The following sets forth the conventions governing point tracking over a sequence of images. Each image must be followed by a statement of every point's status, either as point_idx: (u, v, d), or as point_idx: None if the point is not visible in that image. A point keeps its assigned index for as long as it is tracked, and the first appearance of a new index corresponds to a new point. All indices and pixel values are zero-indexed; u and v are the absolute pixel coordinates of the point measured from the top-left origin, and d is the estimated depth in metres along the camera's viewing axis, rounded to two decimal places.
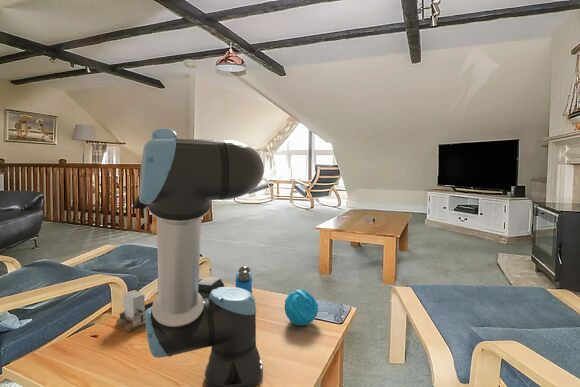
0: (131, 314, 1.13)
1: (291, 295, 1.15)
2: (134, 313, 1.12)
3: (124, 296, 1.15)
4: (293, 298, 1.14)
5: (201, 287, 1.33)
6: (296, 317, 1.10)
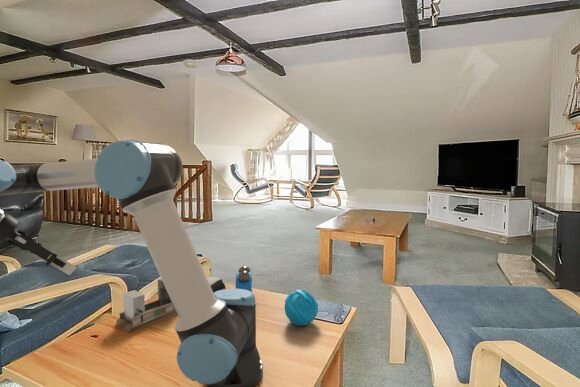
0: (131, 314, 1.13)
1: (291, 295, 1.15)
2: (134, 313, 1.12)
3: (124, 296, 1.15)
4: (293, 298, 1.14)
5: None
6: (296, 317, 1.10)
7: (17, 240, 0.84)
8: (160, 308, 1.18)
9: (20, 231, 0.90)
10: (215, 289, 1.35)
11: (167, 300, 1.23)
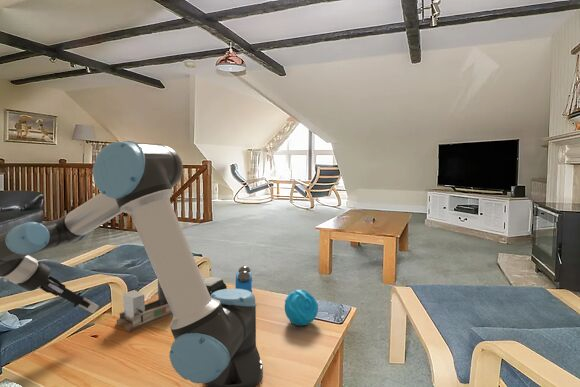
0: (131, 314, 1.13)
1: (291, 295, 1.15)
2: (134, 313, 1.12)
3: (124, 296, 1.15)
4: (293, 298, 1.14)
5: None
6: (296, 317, 1.10)
7: (58, 292, 0.92)
8: (160, 308, 1.18)
9: (50, 276, 0.97)
10: (215, 289, 1.35)
11: None
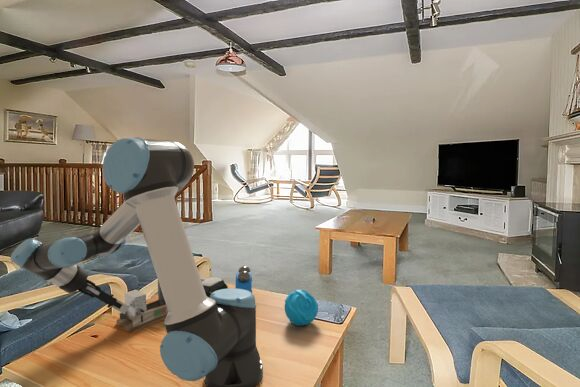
0: (132, 314, 1.14)
1: (291, 295, 1.15)
2: (136, 312, 1.13)
3: (126, 295, 1.16)
4: (293, 298, 1.14)
5: None
6: (296, 317, 1.10)
7: (95, 294, 1.00)
8: (160, 308, 1.18)
9: (86, 279, 1.04)
10: (215, 290, 1.34)
11: None
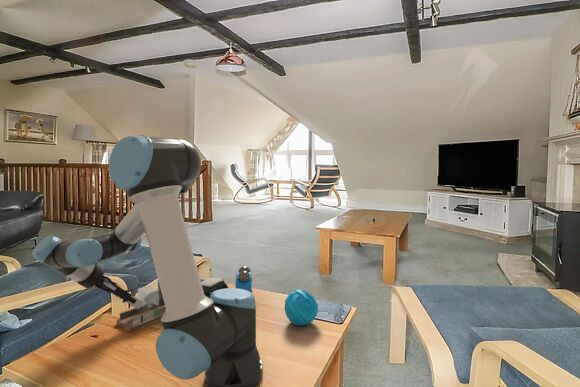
0: (146, 309, 1.17)
1: (291, 295, 1.15)
2: (149, 307, 1.16)
3: (139, 291, 1.19)
4: (293, 298, 1.14)
5: None
6: (296, 317, 1.10)
7: (112, 289, 1.03)
8: (160, 308, 1.18)
9: (102, 275, 1.08)
10: (215, 290, 1.34)
11: None
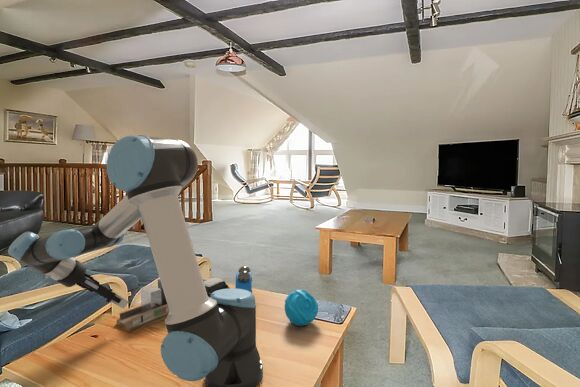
0: (148, 308, 1.18)
1: (291, 295, 1.15)
2: (152, 306, 1.17)
3: (142, 290, 1.20)
4: (293, 298, 1.14)
5: None
6: (296, 317, 1.10)
7: (94, 288, 0.99)
8: (160, 308, 1.18)
9: (85, 273, 1.04)
10: None
11: None
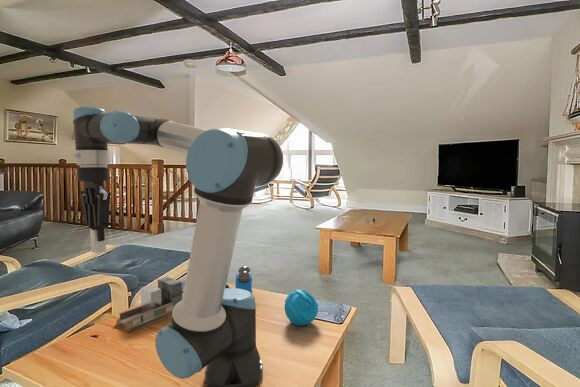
0: (148, 308, 1.18)
1: (291, 295, 1.15)
2: (152, 306, 1.17)
3: (142, 290, 1.20)
4: (293, 298, 1.14)
5: None
6: (296, 317, 1.10)
7: (103, 194, 0.86)
8: (160, 308, 1.18)
9: None
10: None
11: (167, 300, 1.23)
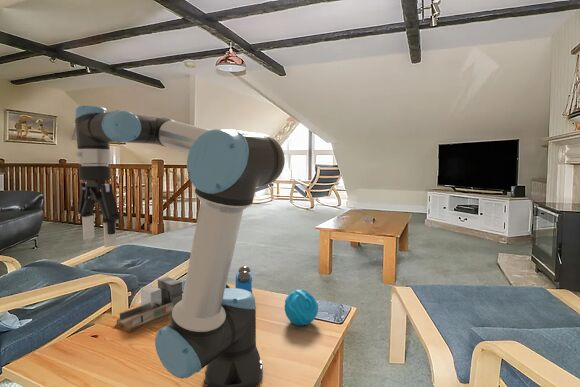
0: (148, 308, 1.18)
1: (291, 295, 1.15)
2: (152, 306, 1.17)
3: (142, 290, 1.20)
4: (293, 298, 1.14)
5: None
6: (296, 317, 1.10)
7: (105, 185, 0.85)
8: (160, 308, 1.18)
9: None
10: None
11: (167, 300, 1.23)
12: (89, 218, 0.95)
